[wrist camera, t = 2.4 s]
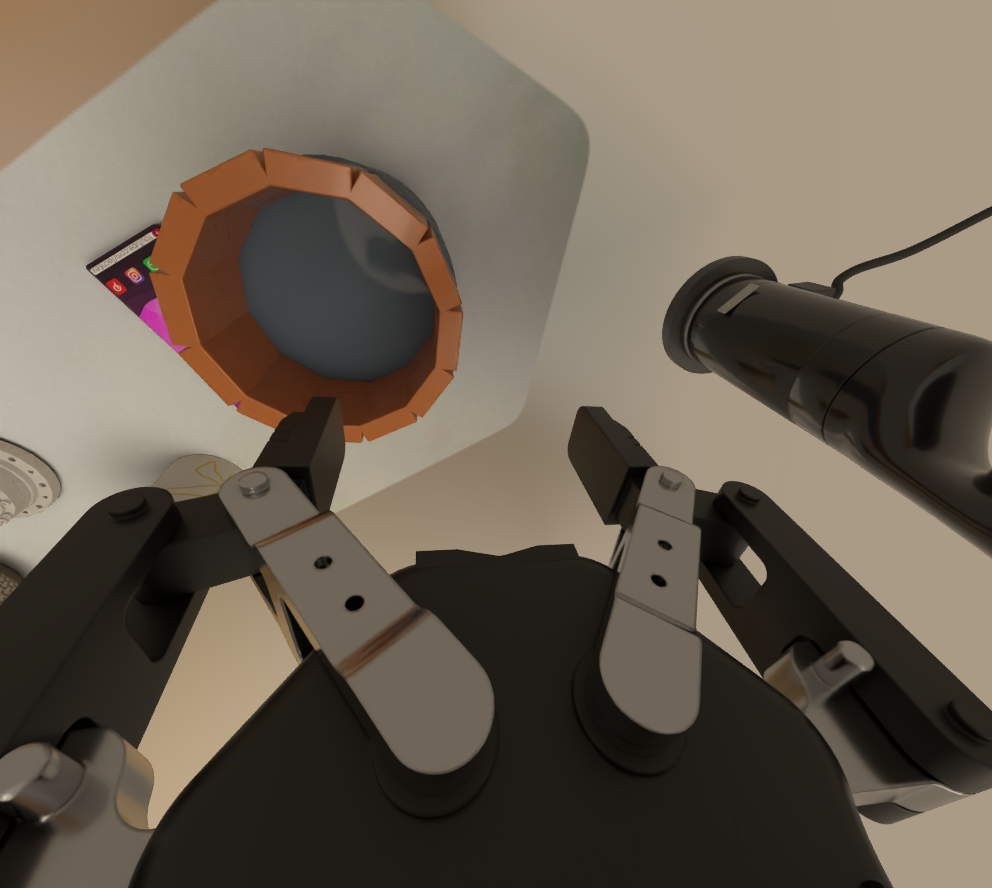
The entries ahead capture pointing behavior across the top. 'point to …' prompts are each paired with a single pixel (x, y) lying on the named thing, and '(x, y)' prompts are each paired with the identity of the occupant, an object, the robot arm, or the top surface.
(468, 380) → the top surface
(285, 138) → the top surface
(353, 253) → the stand
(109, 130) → the top surface
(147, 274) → the smartphone
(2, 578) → the planter
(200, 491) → the white patterned cylinder
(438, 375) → the ring
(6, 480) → the mechanical component
